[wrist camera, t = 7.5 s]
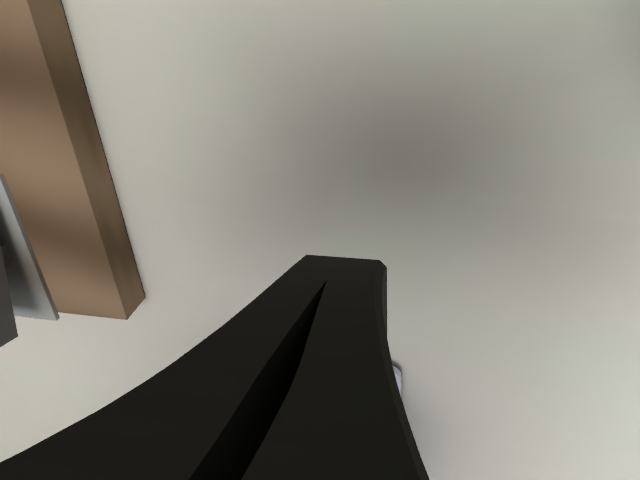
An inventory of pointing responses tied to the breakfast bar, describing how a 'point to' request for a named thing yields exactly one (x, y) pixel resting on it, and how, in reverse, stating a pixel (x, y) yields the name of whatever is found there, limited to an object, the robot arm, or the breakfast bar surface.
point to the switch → (5, 308)
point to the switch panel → (56, 178)
